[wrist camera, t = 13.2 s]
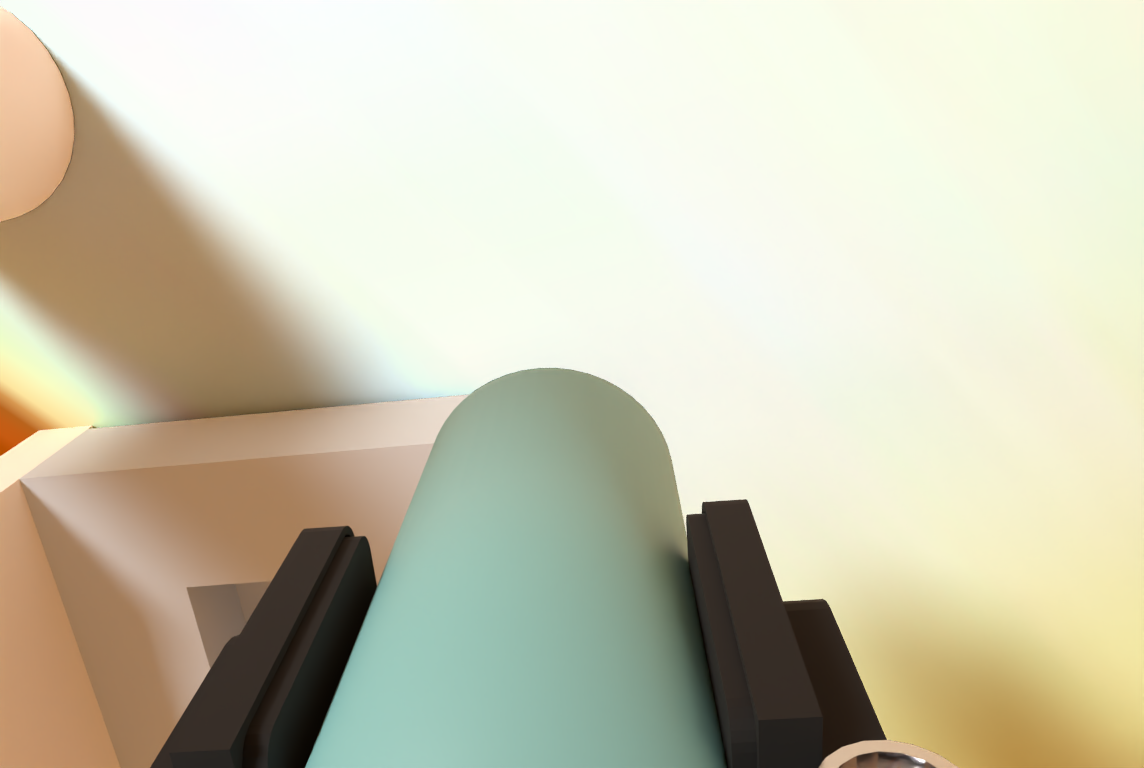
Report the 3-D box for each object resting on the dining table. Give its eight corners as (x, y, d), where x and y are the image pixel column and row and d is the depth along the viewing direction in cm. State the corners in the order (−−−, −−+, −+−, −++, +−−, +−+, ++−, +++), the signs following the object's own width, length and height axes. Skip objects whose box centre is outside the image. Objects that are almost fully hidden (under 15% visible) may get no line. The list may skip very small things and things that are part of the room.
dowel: (667, 358, 14) (818, 960, 5) (679, 581, 16) (813, 1391, 6) (411, 377, 14) (76, 991, 5) (445, 597, 16) (232, 1406, 6)
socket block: (478, 393, 31) (459, 441, 28) (530, 725, 36) (520, 804, 32) (88, 428, 32) (19, 478, 29) (188, 746, 37) (140, 824, 33)
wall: (92, 425, 33) (-118, 578, 23) (191, 741, 38) (50, 973, 28) (39, 430, 33) (-190, 583, 24) (144, 743, 38) (-12, 975, 28)
